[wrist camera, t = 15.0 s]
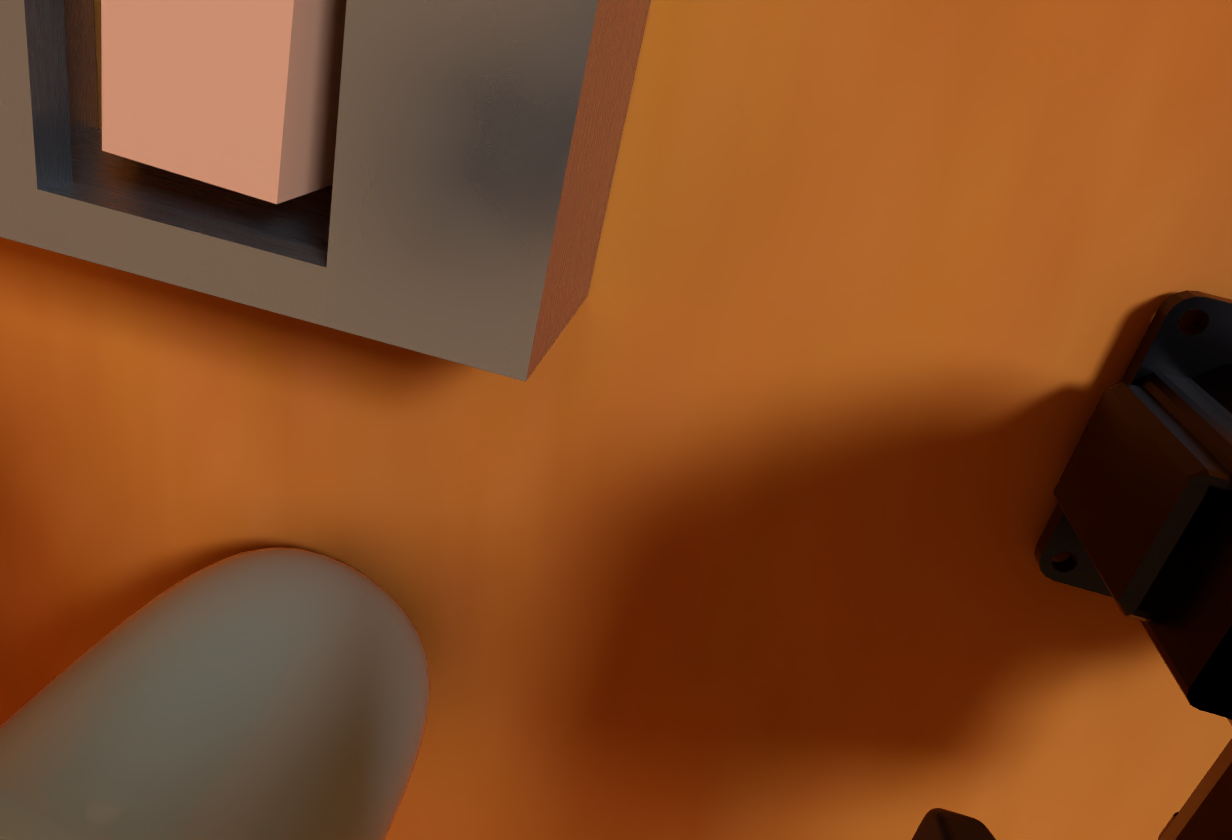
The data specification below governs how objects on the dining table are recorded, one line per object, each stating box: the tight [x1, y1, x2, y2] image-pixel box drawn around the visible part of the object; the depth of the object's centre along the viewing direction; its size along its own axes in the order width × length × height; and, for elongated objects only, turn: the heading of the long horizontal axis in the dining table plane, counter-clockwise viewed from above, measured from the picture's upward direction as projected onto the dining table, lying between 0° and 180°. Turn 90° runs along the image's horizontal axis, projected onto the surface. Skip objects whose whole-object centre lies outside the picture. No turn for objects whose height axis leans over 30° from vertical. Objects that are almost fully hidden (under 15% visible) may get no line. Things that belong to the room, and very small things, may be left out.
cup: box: [0, 547, 430, 840], centre depth 19 cm, size 8×8×10 cm
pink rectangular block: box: [101, 0, 347, 204], centre depth 14 cm, size 3×5×2 cm, turn 165°
